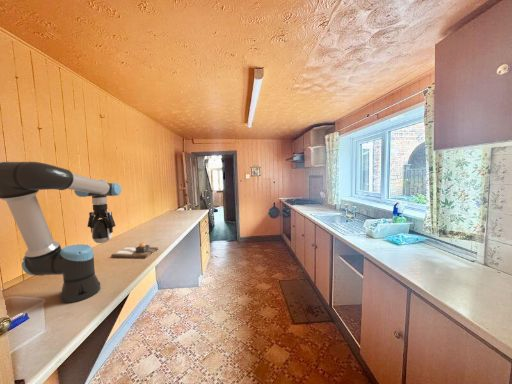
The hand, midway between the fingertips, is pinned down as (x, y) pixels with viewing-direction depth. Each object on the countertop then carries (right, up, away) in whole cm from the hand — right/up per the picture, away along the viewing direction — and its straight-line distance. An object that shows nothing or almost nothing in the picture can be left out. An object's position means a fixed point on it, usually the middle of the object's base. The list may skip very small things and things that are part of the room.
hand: (102, 237), depth 135 cm
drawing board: (+13, -15, +16) cm, 25 cm away
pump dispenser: (0, -3, 0) cm, 3 cm away
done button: (+18, -11, +15) cm, 26 cm away
